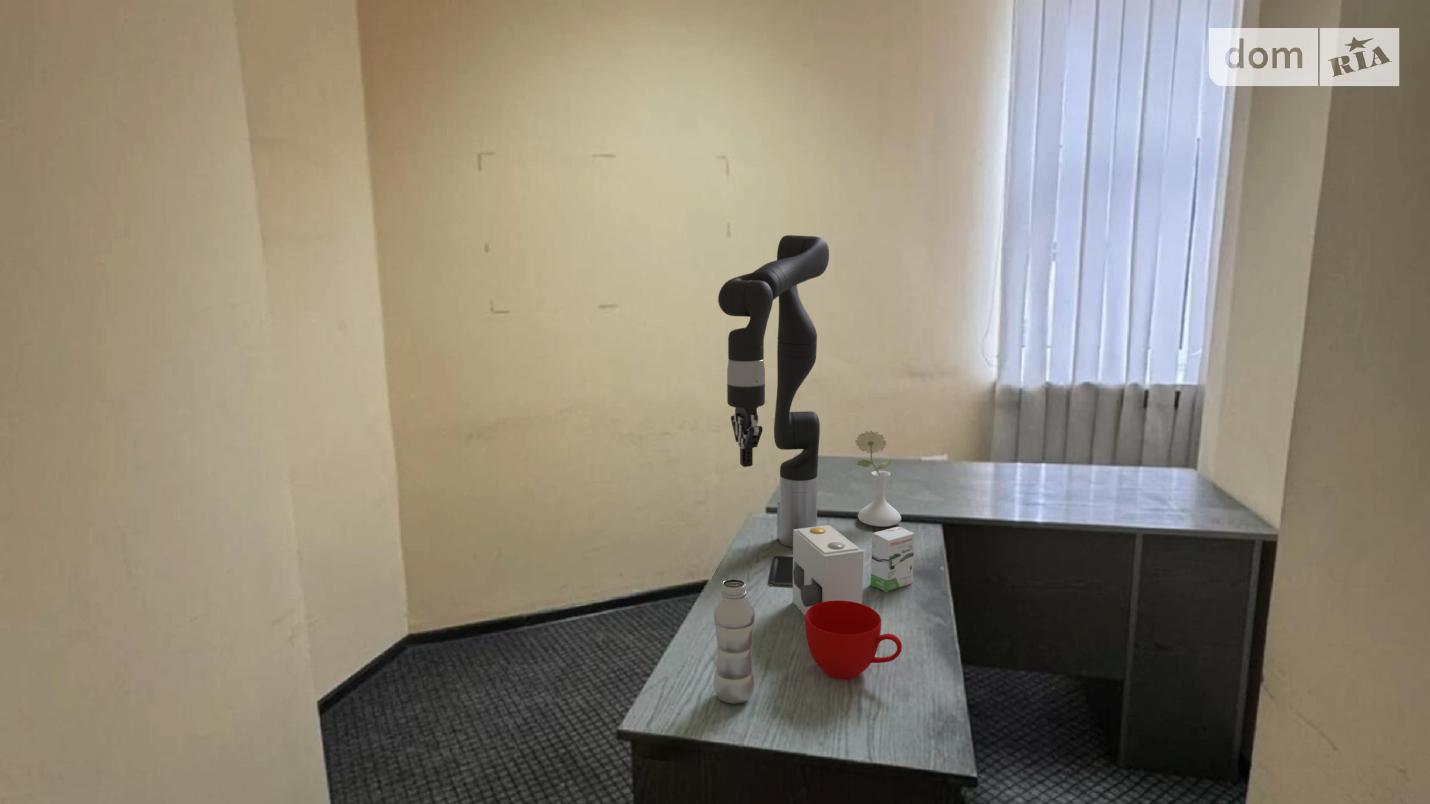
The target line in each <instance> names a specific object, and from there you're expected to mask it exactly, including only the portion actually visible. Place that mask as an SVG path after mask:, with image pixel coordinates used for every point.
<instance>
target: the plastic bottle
mask: <svg viewBox="0 0 1430 804" xmlns="http://www.w3.org/2000/svg"><path fill="white" fill-rule="evenodd" d="M721 587H722V588H721V589H722V590H721V596H722V598H721V600H719V602H718V603H717V605H716V607H715V609H714V611H713V619H714V621H713V622H714V628H715V634H716V645H717V655H716V657H717V658H716V667H715V671H714V672H715V673H714V678H713V687H714V688H713V689H714V693H715V695H716V696H717V698H718V699H719V700H720V701H722V702H723V703H726V704H734V705H735V704H741V703H745V702H746V701H748V700H749V699H750V697H752V695H753V694H754V693H753V692H754V690H755V675H754V671H753V667H752V666H753V665H752V664H753V663H752V641H753V640H752V637H753V630H754V625H755V616H756V613H755V609H754V608H753V606H752V605H751V603H750V601H749V600H748V598H746V596H747V590H746V582H745V581H744V580H742V579H739V578H738V579H737V578H729V579H726V580H724V581H722V584H721Z"/></svg>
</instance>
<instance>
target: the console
mask: <svg viewBox="0 0 1430 804" xmlns="http://www.w3.org/2000/svg"><path fill="white" fill-rule="evenodd" d="M792 557H793V571H794V568H795V567H801V568H803V569H804V585H810V584H817V583H818V584H819V585H820V586H821V587H822V602H826V601H836V600H838V601H851V602H856V603H860V604H863V583H864V582H863V580H864V578H863V577H864V550H863V549H861V548H860V547H859V546H858V545H856V544H855V543H853V541H851V540H849V538H847V537H845V536H844V535H843V534H841V532H839V531H837V530H836V529H835V528H834V527H832V526H831V525H830V524H826V525H817V527H808V528H800V529H793V547H792ZM792 604H793V605H794V604H795V605H796V606H797V607H798V608H799V609H798V608H797V607H796V606H795V605H794V606H795V607H796V608H797V609H798V611H800V610H801V611H800V612H801V613H802V615H803V616H805V615H806V612H807V610H808V609H809V608H810V607H812V606H809V607H805V606H804V605H803V603H802V600H801V587H797V586H796V584H795V582H794V577H793V587H792Z"/></svg>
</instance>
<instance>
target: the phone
mask: <svg viewBox="0 0 1430 804" xmlns="http://www.w3.org/2000/svg"><path fill="white" fill-rule="evenodd" d="M768 581H769V582H768V583H769V585H770V584H772V585H771V586H773V585H778V586H777V587H789V586H793V556H787V555H786V556H784V555H777V556H774V557H773V562H772V565H771V571H770V577H769V580H768Z"/></svg>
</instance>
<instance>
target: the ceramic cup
mask: <svg viewBox="0 0 1430 804" xmlns="http://www.w3.org/2000/svg"><path fill="white" fill-rule="evenodd" d="M804 625H805V635H806V637H805V638H806V643H807V646H808V650H809V653H810V654H811V657H812V659H813V660H814V662H815V664H816V665H817V666H818V667H819V668H820V670H821V671H822V672H823V673H824V674H825V675H826V676H828V677H830V678H832V679H835V680H841V681H849V680H854V679H856V678H858V677H859V676H860V675H861V674H862V673H863V672H864V671H866V670H867V669H868V668H869V666H870V665H871V664H881V663H888V662H891V661H894V660H895V659H897V658H898V657H899V656H900V654H901V653H902V649H903V645H902V641H901V639H900V638H899V637H898V636H896V635H895V634H891V633H884V634H881V632H882V631H881V629H882V617H881V616H880V614H879V613H878V612H877V611H876V610H875V609H873V608H872V607H870V606H868V605H865V604H863V603H862V604H860V603H856V602H851V601H838V600H836V601H826V602H821V603H818V604H816V605H813V606H812V607H810V608H809V609H808V610H807V612H806V615H804ZM884 640H889V641H892V642H894V643H895V645H896V651H895V652H894V653H893V654H891V655H889V656H881V657H877V656H876V654H877V651H878V648H879V645H880V644H881V642H882V641H884Z"/></svg>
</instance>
